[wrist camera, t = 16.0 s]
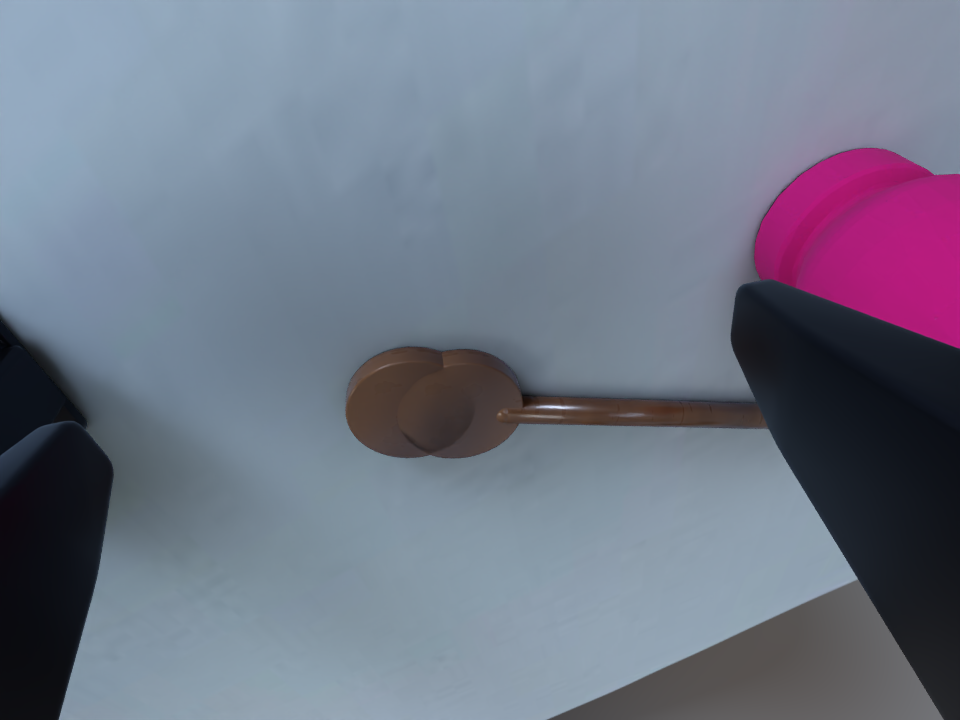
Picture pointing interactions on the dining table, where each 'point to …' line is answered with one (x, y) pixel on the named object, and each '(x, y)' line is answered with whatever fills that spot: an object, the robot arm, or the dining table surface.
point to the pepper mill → (871, 240)
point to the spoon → (491, 405)
